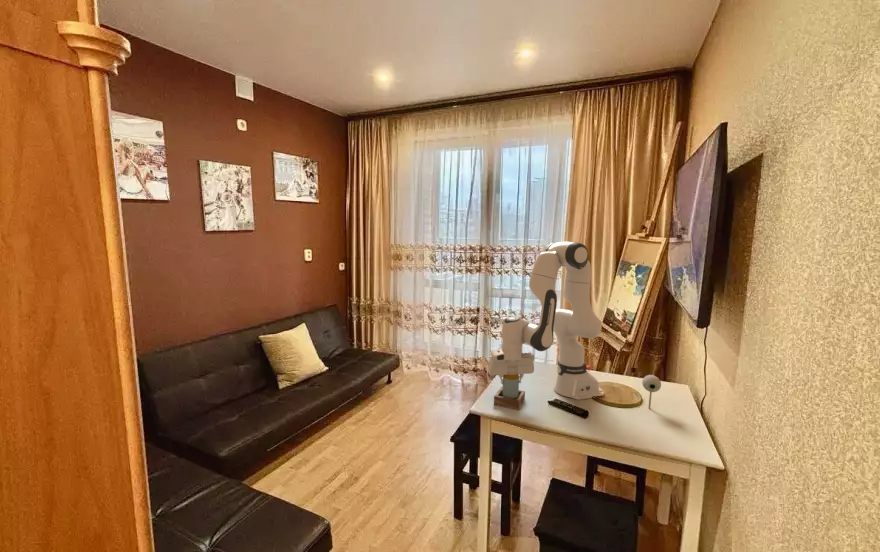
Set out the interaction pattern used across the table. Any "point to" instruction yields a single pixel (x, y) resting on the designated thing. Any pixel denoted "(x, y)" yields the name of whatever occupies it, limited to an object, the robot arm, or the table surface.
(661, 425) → the table surface
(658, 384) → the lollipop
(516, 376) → the bottle
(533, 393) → the table surface
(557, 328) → the robot arm
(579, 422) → the table surface
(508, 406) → the pocket
